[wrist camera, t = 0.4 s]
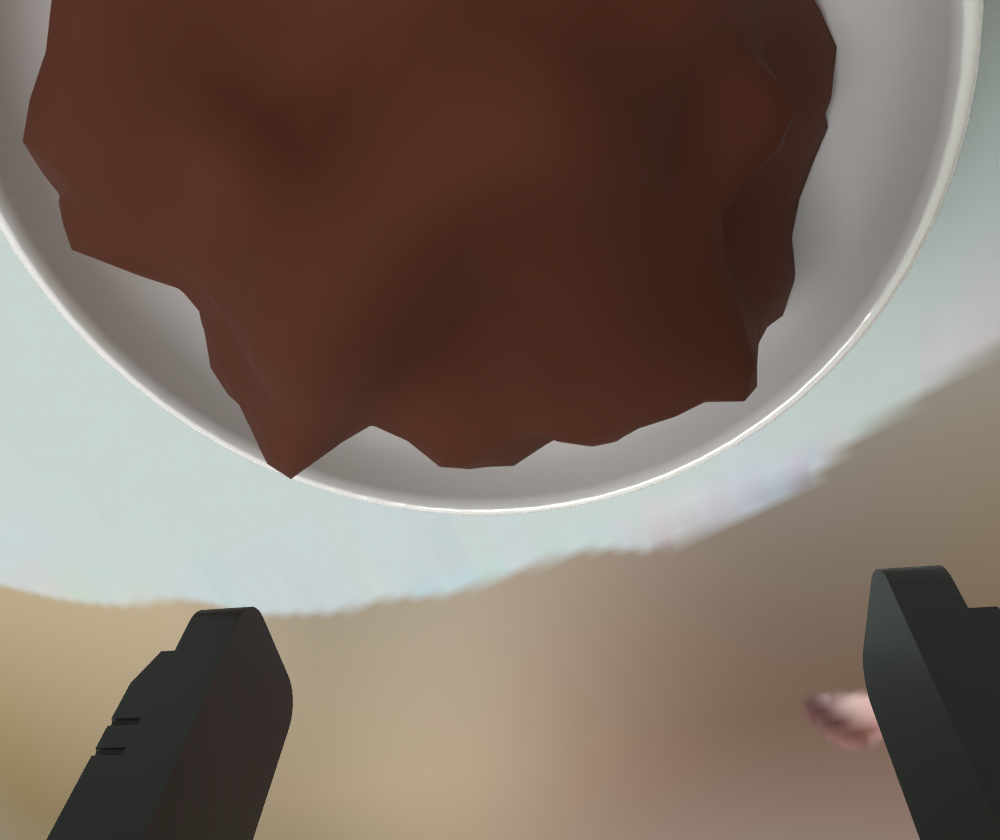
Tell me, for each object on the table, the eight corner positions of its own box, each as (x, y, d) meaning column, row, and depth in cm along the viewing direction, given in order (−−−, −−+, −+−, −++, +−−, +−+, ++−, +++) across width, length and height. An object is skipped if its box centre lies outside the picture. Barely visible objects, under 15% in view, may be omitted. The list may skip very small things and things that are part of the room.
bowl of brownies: (197, -802, 17) (-554, -1824, 6) (1069, -137, 23) (1543, 4, 12) (44, 192, 32) (-251, 457, 21) (600, 439, 38) (611, 750, 27)
